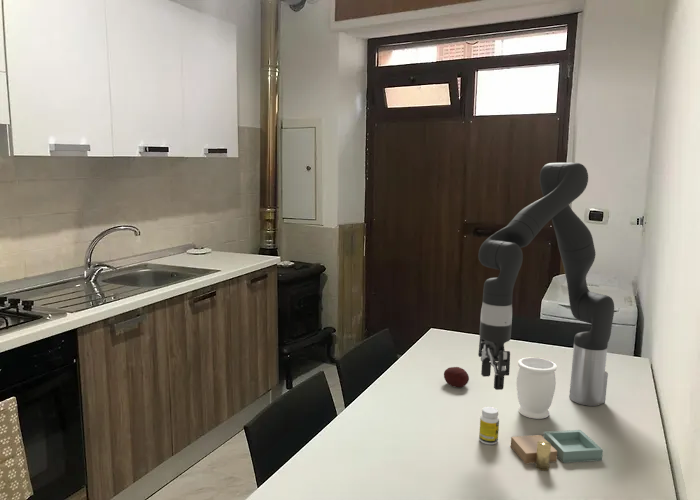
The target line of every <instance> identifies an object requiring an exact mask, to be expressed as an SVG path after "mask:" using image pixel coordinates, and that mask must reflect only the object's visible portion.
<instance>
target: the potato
mask: <svg viewBox="0 0 700 500" xmlns="http://www.w3.org/2000/svg"><path fill="white" fill-rule="evenodd" d="M443 378H444V381H445V382H446V383H447V384H448V385H450V386H451V387H454V388H458V389H459V388H460V389H461V388H463V387H465V386H466V385H467V384H468V383H469V381H470V376H469V374H468V373H467V371H466V370H465V369H463V367H459V366H451V367H448V368H447V369H444V373H443Z"/></svg>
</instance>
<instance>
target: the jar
mask: <svg viewBox="0 0 700 500" xmlns="http://www.w3.org/2000/svg"><path fill="white" fill-rule="evenodd" d="M517 366H518V367H519V368H518V372H517V376H516V392H517V393H516V394H517V400H518V403H519V406H518V413H520V415H522V416H523V417H527V418H530V419H536V420H541V419H545V418H548V417H549V416H550V411H549V409H550V407H551V406H552V403H553V398H554V396H555V390H556V383H557V382H556V373H555V372H556V371H557V368H558V366H557V364H556V363H555V362H553V361H552V360H550V359H546V358H541V357H535V356H534V357H532V356H531V357H529V356H527V357H523V358H520V359H518V361H517Z"/></svg>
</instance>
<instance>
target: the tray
mask: <svg viewBox="0 0 700 500" xmlns="http://www.w3.org/2000/svg"><path fill="white" fill-rule="evenodd" d="M543 438H544V439H545V440H547V441H548V442H549V443H550V444H551V445H552V446H553V447H554V448H555V449H556V450H557V459H559V460H560V461H561V462H562V463H580V462H582V463H583V462H598V461H603V454H604V453H603V452H604V449H603V448H602V447H600V446H599V445H598V444H597V443H596V442H595V441H594V440H593V439H592V438H591V437H589V436H588V434H586V433H585V432H584V431H583V430H581V429H573V430H570V429H569V430H549V431H547V430H546V431H543Z"/></svg>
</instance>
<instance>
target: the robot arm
mask: <svg viewBox="0 0 700 500" xmlns="http://www.w3.org/2000/svg"><path fill="white" fill-rule="evenodd" d="M588 183H589V173H588V169H587V167H586V166H585V165H583V164H582V163H579V162H549V163H546V164H544V166H542V168H541V169H540V173H539V184H540V185H539V187H540V190H541V194H542V196H543V197H541V198H540V199H538V200H535V201H533V202H532V203H529V204H528V205H527V206H525V207H523V208H522V209H521V210H520V211H519V212H518V213H517V214H515V216H514V217H513V218H512V219H511V220H510V221H509V223H507V225H506V226H505V227H503V228H501V229H499V230H498V231H496V232H494V233H493V234H491V235H490V236H489V237H487V238H486V239H485V240H484V241H483V242H482V243H481V245H480V247H479V249H478V260H479V262H480V264H481V265H482V266H483V267H486V268H489V269H494V270H498V271H499V274H498V277H490V278H487V279H485V281H484V283H483V292H482V305H481V309H480V323H479V341H478V342H479V345H478V357H479V358H480V361H481V371H480V372H481V373H480V375H481V376H482V377H490V376H491V373H492V372H491V370H492V367H493V370H494V371H493V373H494V379H493V381H494V382H493V389H495V390H496V391H499V390H501V391H502V390H503V389H504V386H505V385H504V384H505V383H504V382H505V376H510V367H511V366H510V365H511V362H510V361H511V351H510V350H505V344H506V343H508V342H509V341H510V340H511V337H512V336H511V335H512V322H513V321H512V320H513V296H514V295H513V294H514V293H513V292H514V287H515V283H516V280H517V279H518V275H519V271H520V270H521V267H522V264H523V259H524V257H523V256H524V254H523V249H522V248H525V247H528V245H529V244H531V243H532V241H533V240H534V239H535V238H536V236H537V235H538V234H539V233H540V232H541V231H542V229H543V228H544V227H545V226H546V225H547V224H548V223H549V222H550V221H551V222H552V225H553V229H554V233H555V237H556V241H557V246H558V250H559V253H560V254H559V255H560V257H561V261H562V265H563V266H562V267H563V269H564V273H565V279H566V285H567V291H568V299H569V306H570V307H569V308H570V312H571V314H572V316H573V318H575V319H576V320H578V321H580V322H584V323H586V324H587V323H588V324H590V325H591V326H590V330H588V331H581V332H577V333H575V335H574V340H573V349H572V350H573V351H572V362H571V372H570V384H569V400H571V401H572V402H575V403H577V404H579V405H584V406H589V407H594V406H600V405H602V404H606V398H607V387H608V376H609V374H608V371H606V366H607V365H606V364H607V356H608V347H609V346H608V345H609V341H610V339H611V335H612V334H611V333H612V330H613V329H612V327H613V321H614V317H615V316H614V315H615V303H614V299H613V298H612V297H611V296H610V295H607V294H601V293H598V292H594V291H590V289H589V288H588V283H587V275H588V273H589V272H590V269H591V267H592V266H593V263H594V262H595V259H596V249H595V243H594V238H593V235H592V233H591V231H590V229H589V228H588V226H587V225H586V224H585V223H584V221H583V220H581V218H580V217H579V216H578V215H577V214H576V212H574V211H573V209H572V207H571V206H570V204H572V203H573V202H574V201H576V200H577V199H578V198H579V197H580V196H581V195H582V194H583V193H584V191H585V190H586V188H587V186H588Z"/></svg>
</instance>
